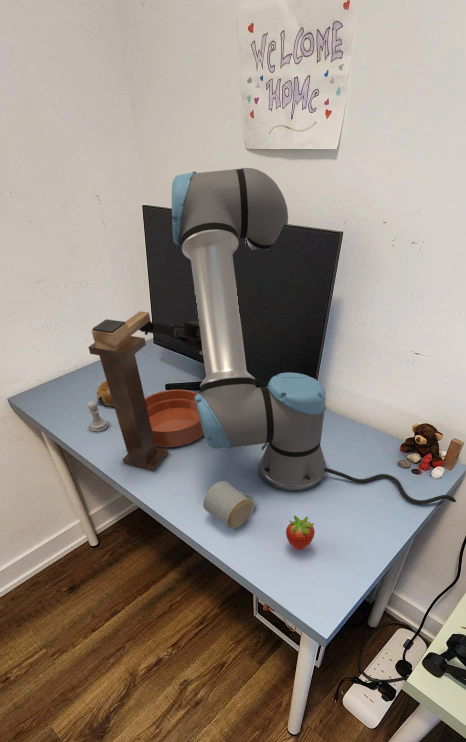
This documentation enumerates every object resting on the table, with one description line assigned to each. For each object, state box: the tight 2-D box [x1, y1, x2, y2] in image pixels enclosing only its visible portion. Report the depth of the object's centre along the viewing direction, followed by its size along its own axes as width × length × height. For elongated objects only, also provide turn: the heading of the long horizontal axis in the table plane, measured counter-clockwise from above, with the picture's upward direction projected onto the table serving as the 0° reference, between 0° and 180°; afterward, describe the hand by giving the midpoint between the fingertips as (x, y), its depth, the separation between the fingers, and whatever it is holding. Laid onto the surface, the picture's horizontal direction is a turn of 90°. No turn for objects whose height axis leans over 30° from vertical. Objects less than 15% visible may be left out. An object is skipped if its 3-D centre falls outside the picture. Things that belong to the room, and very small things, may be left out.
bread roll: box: [96, 379, 114, 408], centre depth 127 cm, size 10×10×8 cm
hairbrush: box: [91, 310, 151, 351], centre depth 87 cm, size 5×15×4 cm, turn 157°
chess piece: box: [87, 401, 109, 432], centre depth 115 cm, size 5×5×8 cm
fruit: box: [285, 515, 316, 551], centre depth 82 cm, size 5×5×8 cm
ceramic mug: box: [202, 480, 257, 529], centre depth 89 cm, size 11×8×8 cm
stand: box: [88, 335, 169, 472], centre depth 96 cm, size 9×7×30 cm
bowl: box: [145, 389, 204, 448], centre depth 115 cm, size 20×20×6 cm
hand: (159, 325), depth 98 cm, fingers open, 13 cm apart
